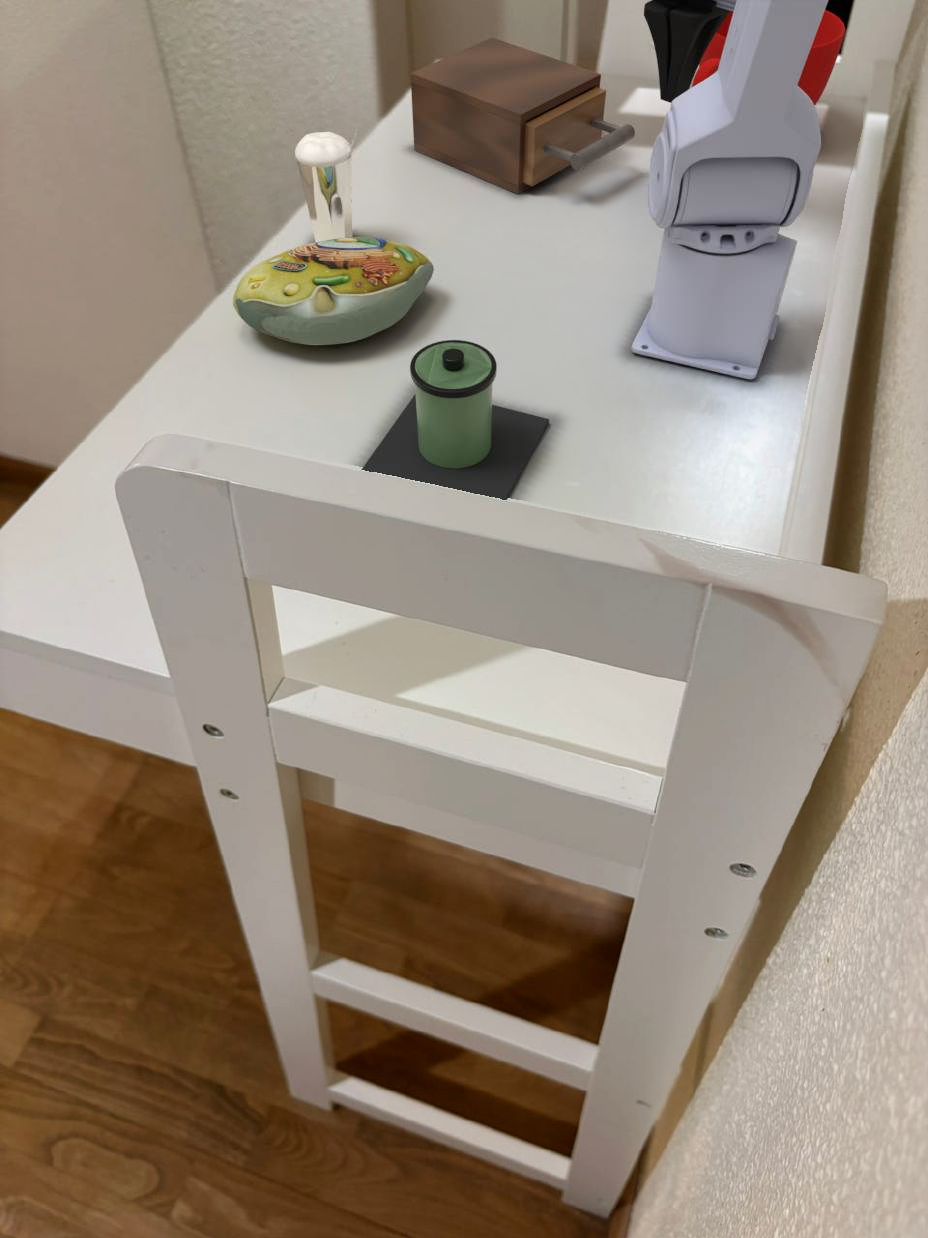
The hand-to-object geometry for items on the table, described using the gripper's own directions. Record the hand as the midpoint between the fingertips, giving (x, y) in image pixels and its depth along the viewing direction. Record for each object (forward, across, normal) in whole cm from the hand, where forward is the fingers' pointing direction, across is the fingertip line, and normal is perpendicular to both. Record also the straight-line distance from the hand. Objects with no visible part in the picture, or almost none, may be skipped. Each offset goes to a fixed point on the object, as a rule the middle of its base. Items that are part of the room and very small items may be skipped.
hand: (673, 97), depth 77 cm
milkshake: (+10, +17, +24) cm, 31 cm away
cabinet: (+9, +18, +1) cm, 20 cm away
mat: (+9, -9, +37) cm, 39 cm away
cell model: (+10, +9, +32) cm, 34 cm away
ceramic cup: (+10, +2, -17) cm, 19 cm away
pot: (+9, -9, +37) cm, 39 cm away
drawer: (+9, +14, +1) cm, 16 cm away
